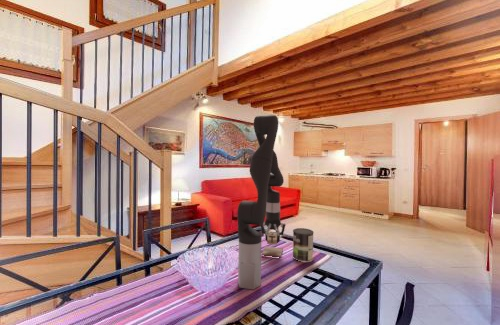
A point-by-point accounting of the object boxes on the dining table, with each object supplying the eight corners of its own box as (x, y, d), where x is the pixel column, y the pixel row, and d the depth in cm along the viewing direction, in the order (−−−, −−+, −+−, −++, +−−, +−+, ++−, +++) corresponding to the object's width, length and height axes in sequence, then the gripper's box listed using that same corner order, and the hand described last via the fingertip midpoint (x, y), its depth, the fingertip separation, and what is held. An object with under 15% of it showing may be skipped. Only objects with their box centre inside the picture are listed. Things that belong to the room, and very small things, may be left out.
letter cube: (276, 244, 123) (276, 235, 123) (267, 243, 124) (267, 234, 124) (277, 241, 128) (277, 232, 128) (268, 240, 129) (268, 231, 129)
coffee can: (298, 263, 114) (299, 234, 114) (289, 255, 124) (289, 228, 124) (317, 261, 117) (317, 233, 117) (306, 253, 127) (306, 227, 127)
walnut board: (280, 258, 119) (280, 256, 119) (261, 256, 121) (261, 254, 121) (282, 250, 131) (282, 248, 131) (265, 248, 133) (265, 246, 133)
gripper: (258, 211, 124) (258, 243, 124) (285, 212, 121) (285, 245, 121) (261, 208, 131) (260, 238, 131) (287, 209, 128) (286, 240, 128)
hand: (272, 241), depth 126 cm, fingers closed on letter cube, 5 cm apart
